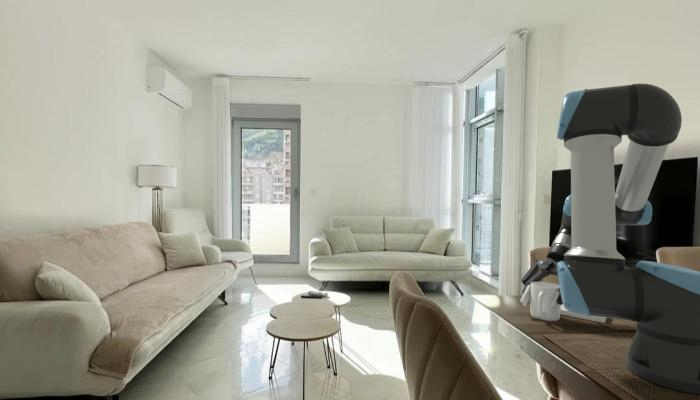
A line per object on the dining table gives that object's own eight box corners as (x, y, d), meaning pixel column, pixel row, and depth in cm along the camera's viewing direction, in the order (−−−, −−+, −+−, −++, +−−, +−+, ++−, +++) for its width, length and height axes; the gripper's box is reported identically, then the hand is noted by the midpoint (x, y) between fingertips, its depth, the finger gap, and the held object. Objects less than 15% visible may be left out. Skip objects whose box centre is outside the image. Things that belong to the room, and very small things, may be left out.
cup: (562, 316, 110) (563, 284, 110) (555, 326, 101) (555, 292, 101) (533, 310, 116) (534, 280, 115) (524, 320, 106) (524, 287, 106)
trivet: (604, 323, 104) (604, 318, 104) (551, 312, 114) (551, 308, 114) (609, 311, 116) (609, 306, 116) (561, 302, 125) (561, 298, 125)
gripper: (603, 263, 108) (578, 325, 100) (536, 253, 126) (509, 305, 117) (596, 248, 105) (569, 310, 97) (528, 240, 123) (500, 292, 114)
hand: (536, 307), depth 107 cm, fingers closed on cup, 8 cm apart
